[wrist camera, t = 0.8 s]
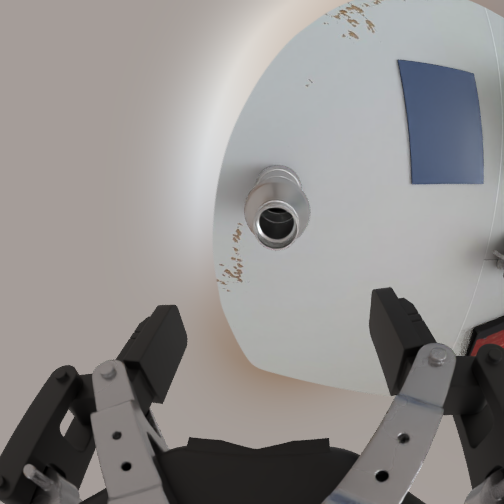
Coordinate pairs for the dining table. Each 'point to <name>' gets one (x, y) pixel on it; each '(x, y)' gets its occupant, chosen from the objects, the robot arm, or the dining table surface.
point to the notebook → (487, 335)
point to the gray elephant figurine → (499, 260)
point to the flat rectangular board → (442, 124)
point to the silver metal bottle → (277, 208)
